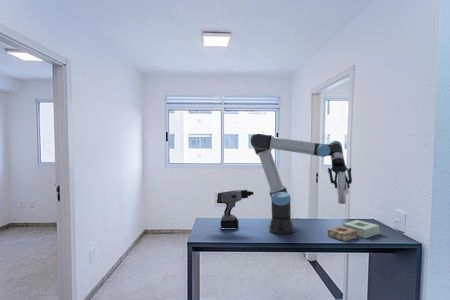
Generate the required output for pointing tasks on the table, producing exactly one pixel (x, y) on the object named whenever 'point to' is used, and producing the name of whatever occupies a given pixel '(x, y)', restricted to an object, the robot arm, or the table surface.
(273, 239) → the table surface
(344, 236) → the maple sleeve
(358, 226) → the sage rack
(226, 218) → the cordless drill
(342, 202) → the cylinder
